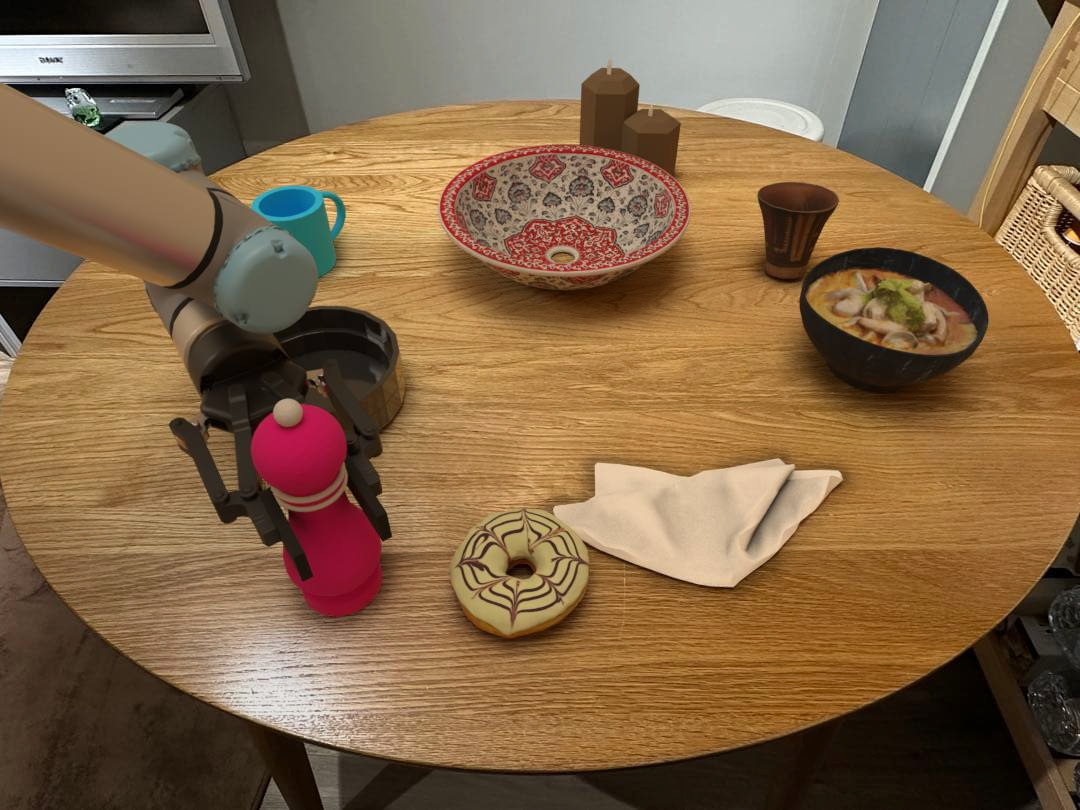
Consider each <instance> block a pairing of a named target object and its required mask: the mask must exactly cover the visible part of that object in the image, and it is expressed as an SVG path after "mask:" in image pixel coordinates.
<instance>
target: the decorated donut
mask: <svg viewBox="0 0 1080 810" xmlns="http://www.w3.org/2000/svg"><path fill="white" fill-rule="evenodd" d="M517 565H528V566H530V567H531V569H532V571H533V574H532V575H531V576H530V577H529V578H524V579H522V578H517V577H514V576H512V575H509V574H507V572H509V571H510V569H512V568H514V566H517ZM449 576H450V583H451V587H452V588H453V590H454V594H455V596H456V599H457V602H458V604H459V606H460V607H461V610H462V611H463V613H464V615H465V616H466V618H467V619H468V620H469V621H470V622H471V623H473V625H474V626H475V627H476V628H478V629H480V630H483V631H484V632H487V633H489V634H492V635H495V636H499V637H502V638H505V639H515V638H517V637H521V636H526V635H529V634H535V633H537V632H541V631H545V630H547V629H549V628H551V627H552V626H556V625H557V624H559V623H560V622H562V621H563V620H565V619H566V617H567V616H568V615H570V614H571V612H573V611H574V609H575V608H576V607H577V606H578V605H579V603H580V602H581V601H582V600H583V598H584V595H585V594H586V591H587V589H588V586H589V580H590V557H589V550H588V548H587V546H586V545H585V542H583V541H582V540H581V538H580V537H579V535H578V534H577V533H576V532H575V531H574V530H572V529H571V528H570V527H569V526H567V525H566V524H565V523H563V522H562V521H561V520H560V519H558V518H557V517H556V516H555V515H554V514H552V513H550V512H548V511H546V510H543V509H540V508H539V509H538V508H526V507H524V508H523V507H522V508H514V509H508V510H506V511H505V510H504V511H499V512H493V513H491V514H489V515H487V516H486V517H485V518H483V519H482V520H481V522H480V523H479V524H477V525H475V526H472V527H471V528H470V529H469V530H468V532H467V534H466V535H465V537H464V540H463V541H462V542H461V543H460V544H459V546H458V547H457V548H456V550H455V552H454V555H453V556H452V558H451V562H450V564H449Z"/></svg>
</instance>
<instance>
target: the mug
mask: <svg viewBox="0 0 1080 810" xmlns="http://www.w3.org/2000/svg"><path fill="white" fill-rule="evenodd" d="M325 199H328V200H331V201H332V202H333V203H334V205H335V208H336V218H335V221H334V224H333V226H332V228H331V227H330V222H329V218H328V214H327V209H326V203H325ZM250 208H251V209H252V210H254V211H255V212H257V213H258V214H260V215H261V216H263V217H264V218H266V219H267V220H269V221H270V222H272V223H273V224H275V225H276V226H279V227H280V228H281V229H285V230H287V231H288V232H290V233H291V234H292V236H293V237H294V238H295V239H296V240H297V241H298V242H299V243H300V244H302V245H303V246H304V247H305V248H306V249H307V250H308V251H309V252H310V254H311V255H312V257H313V259H314V261H315V263H316V266H317V271H318V278H321V277H323V276H324V275H327V274H328V273H329V272H330V271H331V270H332V269H333V268H334V267H335V265H336V264H337V254H336V249H335V245H334V241H335V240H336V239H337V237H339V235H340V233H341V232H342V230H343V227H344V225H345V221H346V217H347V214H346V213H347V210H346V205H345V203H344V201H343V199H342V198H341V197H340V196H339V195H337V193H334V192H331V191H328V190H317V189H316V188H314V187H310V186H306V185H294V184H293V185H282V186H279V187H274V188H272V189H269V190H266V191H264V192H262V193H260V194H259V195H258V196H256V197H255V198H254V200H253V201H252V202H251V204H250Z"/></svg>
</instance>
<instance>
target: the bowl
mask: <svg viewBox="0 0 1080 810" xmlns="http://www.w3.org/2000/svg"><path fill="white" fill-rule="evenodd" d="M798 300H799V301H798V302H799V303H798V304H799V312H800V313H799V314H800V318H801V322H802V327H803V329H804V331H805V332H806V335H807V337H808V339H809V340H810V342H811V344H812V345H813V347H814V348H815V349H816V350H817V352H818V353H819V354H820V356H821V357H822V358H823V359H824V360H825V363H826V364H827V367H828V369H829V371H830V372H831V373H832V374H833V375H834V376H835V377H836V378H837V379H839V380H840V381H842V382H843V383H845V384H847V385H849V386H851V387H852V388H854V389H858V390H861V391H865V392H872V393H891V392H894V391H898V390H900V389H902V388H903V387H905V386H909V385H910V386H911V385H915V384H916V385H918V384H921V383H924V382H927V381H930V380H933V379H935V378H938V377H941V376H943V375H945V374H948V373H949V372H950V371H953V370H954V369H956V368H957V367H959V366H961V364H963V363H964V362H965V361H967V360H968V358H970V357H972V355H973V354H974V353H975V352H976V350H977V348H978V347H979V346H980V345H981V343H982V342H983V340H984V338H985V335H986V334H987V332H988V329H989V328H988V327H989V320H990V319H989V311H988V307H987V305H986V302H985V301H984V299H983V297H982V295H981V294H980V292H979V291H978V290H977V289H976V288H975V286H974V285H973V284H972V282H970V281H969V279H967V278H966V277H964V276H963V275H962V274H961V273H960V272H958V271H957V270H955V269H954V268H952V267H950V266H948V265H946V264H945V263H942V262H940V261H937V260H935V259H933V258H931V257H929V256H926V255H922V254H920V253H917V252H913V251H909V250H904V249H899V248H893V247H882V246H881V247H880V246H878V247H877V246H876V247H862V248H854V249H849V250H846V251H843V252H838V253H836V254H833V255H831V256H829V257H827V258H825V259H823V260H821V261H820V262H818V263H817V264H816V265H814V266H813V267H812V268H811V269H810V270H809V271H808V272H807V274H806V276H805V277H804V279H803V282H802V283H801V289H800V294H799V299H798Z"/></svg>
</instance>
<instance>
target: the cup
mask: <svg viewBox="0 0 1080 810" xmlns="http://www.w3.org/2000/svg"><path fill="white" fill-rule="evenodd" d="M756 194H757V195H756V197H757V202H758V205H759V209H760V211H761V217H762V223H763V232H764V243H765V245H764V247H765V250H764V251H765V259H764V266H763V268H764V269H763V270H764V271H765V272H766V274H768V275H769V276H771V277H773V278H777V279H783V280H792V279H793V280H795V279H799V278H801V277H803V276H804V275H805V274H806V273H807V269H808V265H809V262H810V259H811V257H812V254H813V252H814V251H815V250H814V249H815V248H816V244H817V242H818V241H819V238H820V236H821V234H822V232H823V229H824V227H825V226H826V223H827V222H828V220H829V219H830V217H831V216H832V215H833V213H834V212H835V210H836V209H837V207H838V205H839V204H840V198H839V196H838V194H837V193H835V191H833V190H831V189H829V188H827V187H825V186H822V185H818V184H814V183H808V182H802V181H801V182H800V181H782V182H774V183H771V184H767V185H765V186H762V187H760V189H759V190H758V191H757V193H756Z"/></svg>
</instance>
